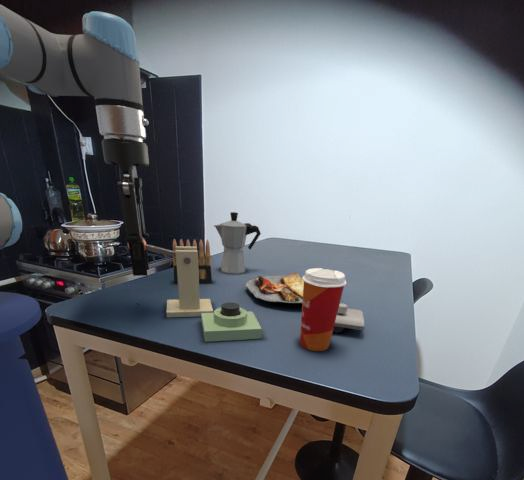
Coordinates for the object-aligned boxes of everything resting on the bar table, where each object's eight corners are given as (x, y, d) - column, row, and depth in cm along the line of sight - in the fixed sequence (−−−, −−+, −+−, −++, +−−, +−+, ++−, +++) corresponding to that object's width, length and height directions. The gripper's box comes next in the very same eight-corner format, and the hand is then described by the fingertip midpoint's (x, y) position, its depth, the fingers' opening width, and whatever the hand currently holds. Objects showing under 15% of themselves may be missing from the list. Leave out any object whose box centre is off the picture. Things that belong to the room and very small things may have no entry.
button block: (204, 341, 60) (204, 322, 58) (201, 322, 67) (200, 304, 65) (261, 338, 62) (262, 320, 60) (252, 320, 70) (252, 303, 68)
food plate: (237, 282, 94) (237, 271, 92) (308, 280, 101) (309, 269, 99) (263, 314, 73) (264, 300, 72) (350, 308, 80) (352, 295, 79)
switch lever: (125, 253, 63) (127, 234, 61) (127, 249, 66) (129, 231, 64) (192, 269, 67) (195, 252, 66) (191, 265, 70) (194, 249, 69)
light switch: (360, 320, 73) (364, 300, 71) (362, 338, 65) (367, 316, 63) (317, 315, 75) (320, 294, 73) (314, 332, 67) (317, 309, 64)
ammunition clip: (211, 281, 94) (210, 239, 88) (211, 283, 92) (211, 240, 87) (174, 281, 91) (170, 238, 86) (174, 283, 90) (170, 239, 84)
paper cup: (300, 332, 66) (309, 265, 59) (337, 340, 64) (350, 271, 57) (289, 348, 59) (297, 274, 53) (330, 358, 57) (344, 282, 50)
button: (222, 317, 61) (222, 309, 60) (220, 310, 64) (220, 302, 63) (240, 317, 62) (241, 308, 61) (237, 310, 65) (238, 302, 64)
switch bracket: (166, 317, 69) (160, 252, 62) (167, 304, 75) (162, 244, 69) (213, 315, 71) (212, 253, 64) (209, 303, 78) (208, 245, 71)
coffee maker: (213, 273, 101) (212, 212, 93) (214, 266, 109) (214, 209, 101) (259, 275, 103) (262, 215, 94) (257, 268, 111) (260, 212, 102)
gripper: (142, 137, 49) (158, 283, 61) (150, 145, 64) (161, 262, 75) (90, 132, 48) (115, 284, 59) (109, 141, 62) (127, 262, 73)
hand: (141, 272), depth 67 cm, fingers closed on switch lever, 4 cm apart
